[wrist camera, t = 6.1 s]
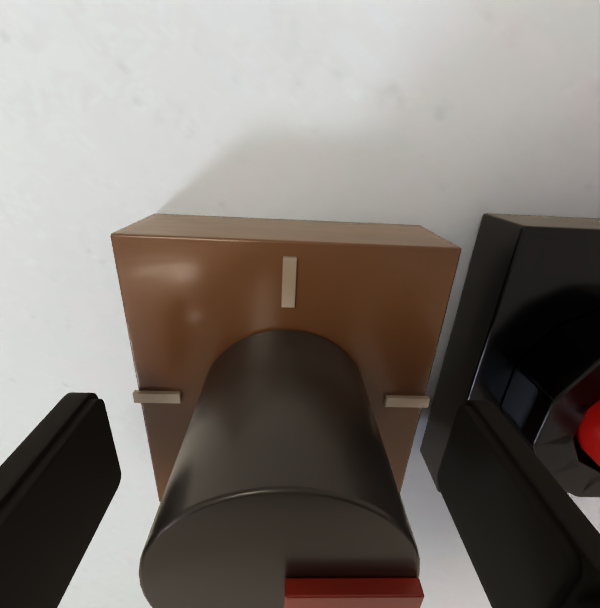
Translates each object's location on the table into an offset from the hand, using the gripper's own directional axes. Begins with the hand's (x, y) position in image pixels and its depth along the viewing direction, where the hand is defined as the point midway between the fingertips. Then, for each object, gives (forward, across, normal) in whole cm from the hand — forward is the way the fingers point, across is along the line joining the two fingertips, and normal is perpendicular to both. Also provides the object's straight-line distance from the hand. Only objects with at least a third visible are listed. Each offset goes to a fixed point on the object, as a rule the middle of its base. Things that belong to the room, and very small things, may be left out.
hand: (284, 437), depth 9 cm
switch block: (+5, -11, 0) cm, 12 cm away
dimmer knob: (+2, 0, 0) cm, 2 cm away
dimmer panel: (+5, 0, 0) cm, 5 cm away
